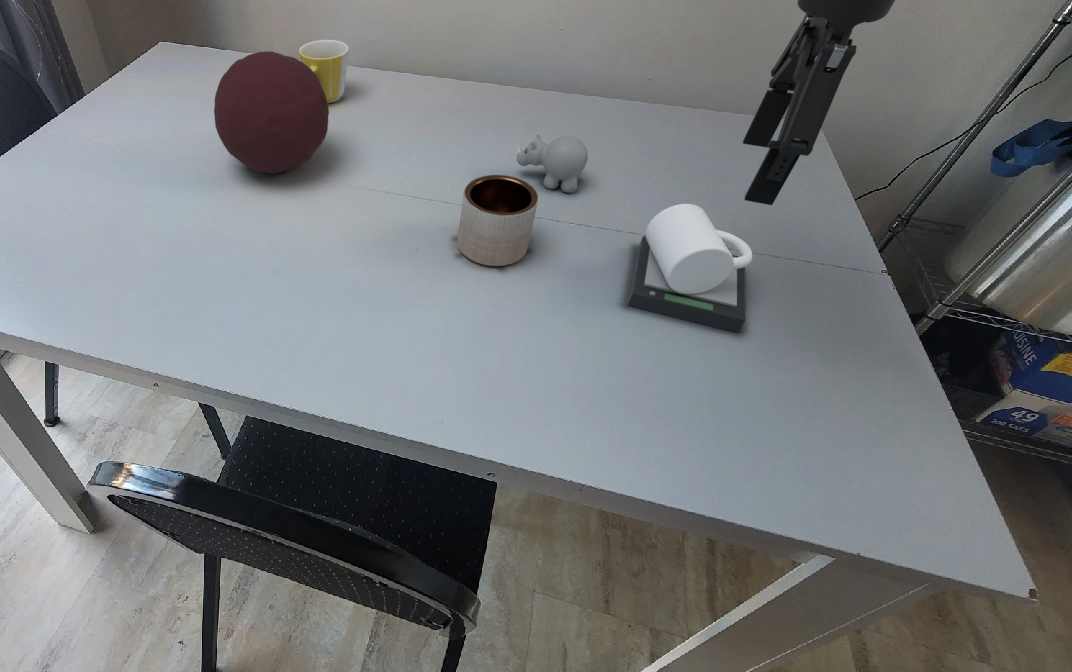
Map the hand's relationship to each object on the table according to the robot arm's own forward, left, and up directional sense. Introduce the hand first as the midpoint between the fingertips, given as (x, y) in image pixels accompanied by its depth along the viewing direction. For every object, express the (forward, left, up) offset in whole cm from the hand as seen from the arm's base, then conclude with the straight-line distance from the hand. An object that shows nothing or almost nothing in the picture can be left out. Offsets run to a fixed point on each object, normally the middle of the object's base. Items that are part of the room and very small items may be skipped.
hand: (756, 171), depth 70 cm
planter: (0, +29, -20) cm, 35 cm away
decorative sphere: (+9, +72, -20) cm, 75 cm away
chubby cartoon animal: (+22, +25, -20) cm, 39 cm away
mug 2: (+2, +1, -17) cm, 17 cm away
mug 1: (+36, +76, -20) cm, 87 cm away
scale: (+1, +1, -20) cm, 20 cm away
